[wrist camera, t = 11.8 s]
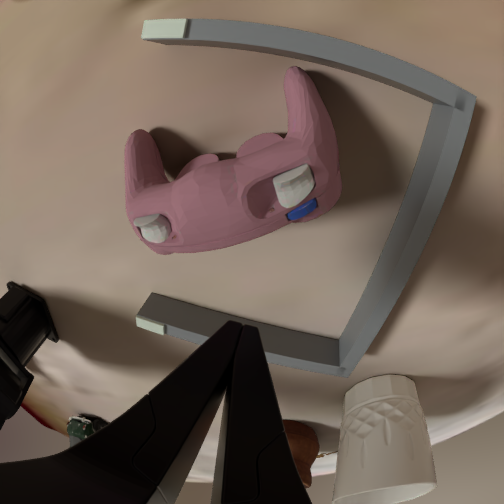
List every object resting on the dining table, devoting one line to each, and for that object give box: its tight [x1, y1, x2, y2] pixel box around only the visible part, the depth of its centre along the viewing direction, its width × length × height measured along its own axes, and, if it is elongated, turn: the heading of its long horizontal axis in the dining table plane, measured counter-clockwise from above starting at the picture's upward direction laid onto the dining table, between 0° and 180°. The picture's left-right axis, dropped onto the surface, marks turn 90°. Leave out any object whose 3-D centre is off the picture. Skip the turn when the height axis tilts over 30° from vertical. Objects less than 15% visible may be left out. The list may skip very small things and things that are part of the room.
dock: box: [136, 19, 476, 378], centre depth 15 cm, size 18×14×3 cm
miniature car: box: [67, 416, 108, 447], centre depth 39 cm, size 9×18×8 cm, turn 30°
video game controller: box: [125, 66, 342, 255], centre depth 12 cm, size 10×5×7 cm, turn 110°
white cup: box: [332, 374, 437, 504], centre depth 18 cm, size 8×8×10 cm
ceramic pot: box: [283, 420, 338, 489], centre depth 26 cm, size 18×18×7 cm
